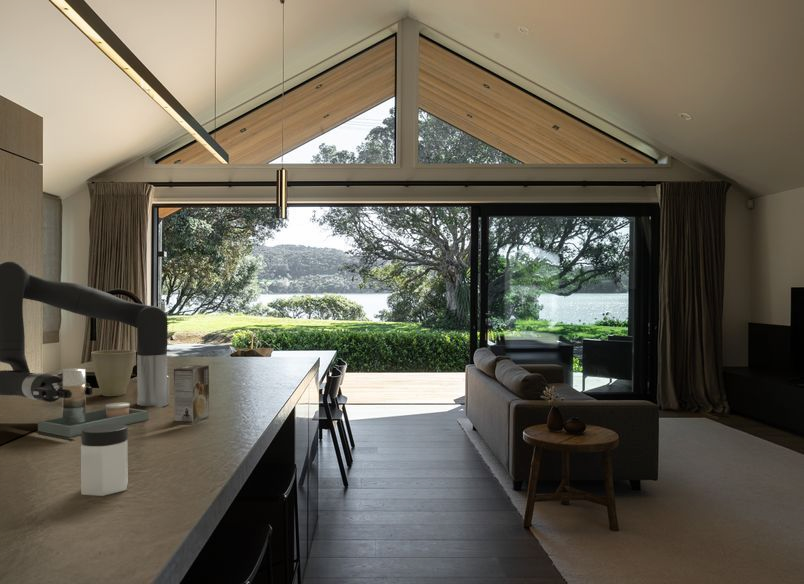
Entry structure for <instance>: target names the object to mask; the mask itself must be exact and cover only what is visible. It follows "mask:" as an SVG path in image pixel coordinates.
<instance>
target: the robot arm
mask: <svg viewBox="0 0 804 584" xmlns="http://www.w3.org/2000/svg"><path fill="white" fill-rule="evenodd" d="M24 300H30V301H35V302H39V303H43V304H46V305H49V306H51V307H55V308H58V309H61V310H63V311H67V312H70V313H73V314H77V315H80V316H84V317H87V318H93V319H99V320H106V321H113V322H119V323H123V324H125V325H128V326H131V327H132V328H136V330H137V331H136V332H137V334H136V335H137V337H136V367H137V368H136V369H137V370H136V373H137V374H136V375H137V376H136V389H137V390H136V391H137V394H136V396H137V397H136V399H137V400H136V403H137V406H142V407H156V408H157V407H158V408H159V407H160V408H162V407H166V406H168V405H170V403H171V401H170V398H171V397H170V395H171V394H170V393H171V392H170V386H171V385H170V376H169V375H168V354H167V351H168V336H169V335H168V327H169V326H168V315H167V313H166V312H165V311H164V310H163V309H162V308H161V307H158V306H156V305H148V304H141V303H137V302H132V301H128V300H125V299H123V298H120V297H117V296H116V295H113V294H111V293H109V292H105V291H104V290H103V291H102V290H100V289H97V288H95V287H91V286H87V285H83V284H80V283H75V282H68V281H67V282H65V281H53V280H48V279H44V278H41V277H39V276H36V275H33V274H31V273H28V271H27V270H26V268H25V267H24V266H23V265H21V264H20V263H18V262H15V261H6V262H5V261H4V262H3V263H1V264H0V363H2V364H7V365H10V367H11V369H12V370H10V369H8V370H0V396H19V397H22V398H23V397H24V398H27V399H28V398H29V399H32V400H36V401H41V402H45V403H53V402H56V401H58V400H59V399H62V398H70V390H67V389H62V382H63V377H62V376H59V375H58V374H49V373H40V372H39V373H34V372H31V371H30V368H29V365H28V362H27V358H26V353H25V352H26V349H25V347H26V344H25V343H26V342H25V341H26V340H25V339H26V338H25V325H24V314H23V313H24V312H23V311H24V309H23V308H24V307H23V303H24ZM92 394H93V387H92V386H91V385H90V383H88V382H86V396H91V395H92Z"/></svg>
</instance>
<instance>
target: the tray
mask: <svg viewBox="0 0 804 584" xmlns="http://www.w3.org/2000/svg"><path fill="white" fill-rule="evenodd" d="M149 413H150V412H149V410H144V409H138V408H137V409H136V408H130V407H129V414H128V415H124V416H119V417H114V418H109V419H106V408H103V409H97V410H91V411H86V421H84V422H80V423H71V424H67V423H62V416H59V417H54V418H50V419H49V418H48V419H45V420H39V421H37V431H38V432H37V435H38V436H39V435H40V436H45V437H48V438H54V439H57V440H59V439H60V440H64V441H69V442H70V441H74V440H75V439H74V438H73V439H72V437H76V436H81V434H82V430H83V429H84V428H86V427H90V426H94V425H101V424H124V425H126V426H127V425H132V424H137V423H140V422H144V421H146V422H147V421H148V420H149V417H150V416H149V415H150V414H149ZM41 432H42V433H41ZM47 433H48V434H47Z"/></svg>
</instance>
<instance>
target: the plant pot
mask: <svg viewBox="0 0 804 584" xmlns="http://www.w3.org/2000/svg"><path fill="white" fill-rule="evenodd" d="M90 355H91V358H92V366H93V372H94V375H95V378H96V382H97V385H98V387H99V388H98V389H99V391H100V392H101V394H102V396H103V397H118V396H123V395H125V393H126V391H127V388H128V385H129V383H130V381H131V376H132V373H133V368H134V365H135V360H136V355H137V350H132V349H110V350H95V351H92V352H91V354H90Z"/></svg>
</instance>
